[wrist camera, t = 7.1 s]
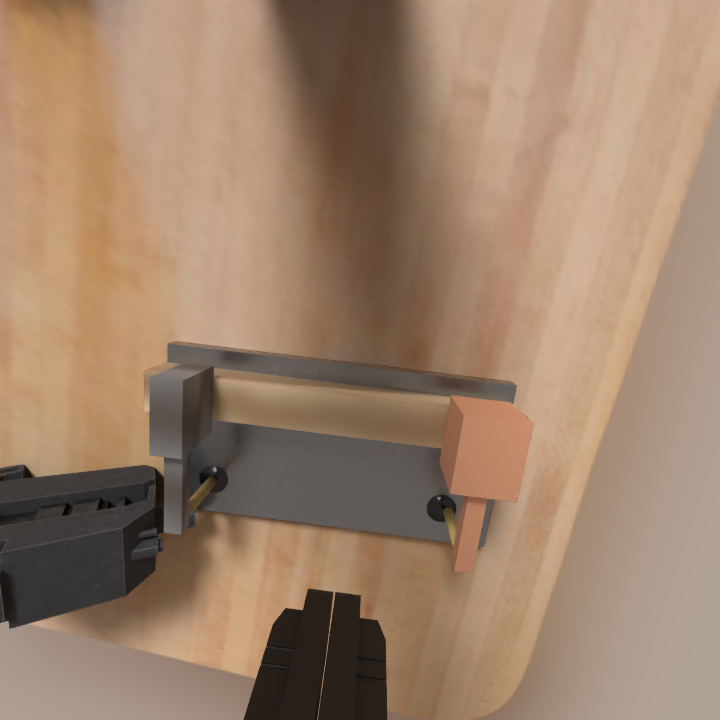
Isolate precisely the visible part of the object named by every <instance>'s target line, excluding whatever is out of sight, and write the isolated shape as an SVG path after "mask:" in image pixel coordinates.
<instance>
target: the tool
mask: <svg viewBox="0 0 720 720" xmlns="http://www.w3.org/2000/svg"><path fill="white" fill-rule="evenodd" d="M194 526H195V510H194V511H193V512H192V514H191V515H190V516H189V526H188V527H187V528H189V527H194ZM159 533H164V507H163V508H158V509H156V478H155V468H154V467H150V466H147V465H141V466H132V467H123V468H114V469H105V470H97V471H88V472H79V473H70V474H61V475H53V476H44V477H35V478H26V471H25V465H17V466H10V467H4V468H0V623H1V622H5V621H9V628H10V629H11V628H15V627H18V626H22V625H25V624H29V623H33V622H36V621H40V620H43V619H47V618H50V617H54V616H58V615H61V614H65V613H68V612H72V611H75V610H79V609H83V608H86V607H90V606H93V605H97V604H100V603H104V602H107V601H111V600H115V599H118V598H122V597H125V596H126V595H128V594H129V593H130V592H131V591H132V590H133V589H134V588H136V587H137V586H138V585H139V584H140V583H141V582H142V581H144V580H145V579H146V578H147V577H148V576H149V575H151V574H152V573H153V572H154V571H155V565H156V556H158V552H160V551H163V538H162V539H158V536H156V535H157V534H159Z"/></svg>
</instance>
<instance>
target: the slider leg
mask: <svg viewBox="0 0 720 720" xmlns="http://www.w3.org/2000/svg"><path fill="white" fill-rule="evenodd" d="M533 426H534V423H532V422H531V421H530V420H529V419H528V418H527V417H526V416H525V415H523V414H522V413H521V412H520V411H519V410H518V409H517V408H516V407H514V406H513V405H512V404H511V403H510V402H502V401H494V400H486V399H478V398H470V397H461V396H453V395H451V397H450V403H449V409H448V415H447V421H446V427H445V433H444V439H443V445H442V450H441V456H440V462H439V463H440V466H441V469H442V472H443V475H444V478H445V480H446V483H447V486H448V489H449V492H450V494H455V495H463V500H462V505H461V511H460V516H459V521H458V525H457V522H456V519H455V516H454V513H453V510H452V508H450V507H445V508H444V509H443V514H444V518H445V521H446V525H447V528H448V532H449V535H450V539H451V542H452V546H453V554H452V559H451V561H452V565H453V569H454V571H455V572H462V573H470V574H473V569H474V564H475V559H476V554H477V549H478V544H479V539H480V534H481V529H482V524H483V519H484V514H485V509H486V504H487V499H494V500H502V501H510V502H517V499H518V495H519V490H520V486H521V481H522V477H523V472H524V467H525V463H526V458H527V454H528V449H529V445H530V440H531V435H532V431H533Z"/></svg>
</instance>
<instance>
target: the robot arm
mask: <svg viewBox="0 0 720 720" xmlns="http://www.w3.org/2000/svg"><path fill="white" fill-rule="evenodd" d="M332 600H333V592H330V591H323V590H315V589H308V591H307V595H306V599H305V604H304V608H303V610H296V609H289V608H285V610H284V611H283V612H282V613H281V615H280V616H279V617H278V619H277V620H276V621H275V622H274V624H273V626H272V629H271V632H270V636H269V639H268V642H267V646H266V649H265V652H264V655H263V658H262V662H261V666H260V668H259V671H258V675H257V678H256V681H255V684H254V688H253V691H252V694H251V697H250V701H249V704H248V707H247V710H246V714H245V717H244V720H317V716H318V709H319V701H320V695H321V702H320V709H319V717H318V720H387V684H386V639H385V637H384V635H383V632H382V630H381V627H380V625H379V623H378V620H371V619H363V618H360V601H361V595H354V594H346V593H339V592H336V593H335V600H334V607H333V614H332V622H331V629H330V636H329V643H328V635H329V626H330V618H331V609H332ZM327 643H328V651H327ZM326 651H327V658H326ZM325 659H326V665H325ZM324 666H325V672H324ZM323 673H324V680H323ZM322 680H323V687H322ZM321 688H322V694H321Z"/></svg>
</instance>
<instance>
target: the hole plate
mask: <svg viewBox="0 0 720 720" xmlns="http://www.w3.org/2000/svg"><path fill="white" fill-rule="evenodd" d="M168 362H169V363H177V364H183V363H185V362H188V363H196V364H204V365H212V366H214V368H218V369H226V370H234V371H243V372H251V373H259V374H267V375H275V376H284V377H292V378H300V379H308V380H317V381H325V382H333V383H341V384H350V385H358V386H366V387H374V388H382V389H391V390H399V391H407V392H415V393H424V394H432V395H440V396H448V397H451V395H453V396H461V397H470V398H478V399H486V400H494V401H502V402H510V403H511V404H513V401H514V397H515V392H516V387H517V385H515V384H514V383H513V382H511V381H502V380H494V379H486V378H477V377H469V376H461V375H452V374H444V373H436V372H427V371H419V370H411V369H402V368H394V367H386V366H377V365H369V364H361V363H352V362H344V361H336V360H327V359H319V358H311V357H302V356H294V355H286V354H277V353H269V352H261V351H252V350H244V349H236V348H227V347H219V346H211V345H202V344H194V343H186V342H177V341H175V342H172V343H168ZM441 450H442V448H434V447H426V446H418V445H410V444H402V443H394V442H386V441H378V440H370V439H362V438H354V437H346V436H338V435H330V434H322V433H314V432H306V431H298V430H290V429H282V428H274V427H266V426H258V425H250V424H242V423H234V422H226V421H218V420H212V433H211V434H210V435H209V436H207V437H206V438H205V439H204V440H203V441H202V442H201V443H200V444H198V445H197V446H196V447H195V448H194V449H193V450H192V451H190V495H189V499H190V498H191V497H192V496H193V495H194V493H195V492H196V491H197V490H198V489H199V488H200V487H201V485H202V484H203V483H204V482H205V481H206V480H207V479H208V478H209V477H210V476H213V477H215V478H216V479H217V483H216V484H215V486H214V487H213V488H212V489H211V490H210V492H209V493H208V494H207V495H206V497H205V498H204V499H203V500H202V501H201V503H200V504H199V505H198V506H197V508H196V509H201V510H208V511H216V512H223V513H231V514H239V515H246V516H254V517H261V518H269V519H276V520H284V521H292V522H299V523H307V524H314V525H322V526H330V527H337V528H345V529H352V530H360V531H367V532H375V533H383V534H390V535H398V536H405V537H413V538H421V539H428V540H436V541H443V542H451V539H450V535H449V532H448V528H447V525H446V521H445V518H444V514H443V509H444V508H445V507H450V508H452V510H453V513H454V516H455V519H456V522H457V525H458V521H459V516H460V511H461V505H462V500H463V495H455V494H450V492H449V489H448V486H447V483H446V480H445V478H444V475H443V472H442V469H441V466H440V463H439V462H440V456H441ZM492 504H493V499H487V504H486V509H485V514H484V519H483V524H482V529H481V534H480V539H479V544H478V546H481V547H484V543H485V539H486V534H487V529H488V524H489V519H490V514H491V509H492ZM451 543H452V542H451Z"/></svg>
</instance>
